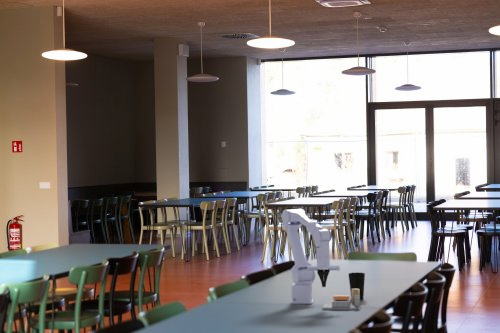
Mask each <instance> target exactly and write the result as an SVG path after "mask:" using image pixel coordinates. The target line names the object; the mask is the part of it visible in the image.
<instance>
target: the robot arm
mask: <svg viewBox="0 0 500 333" xmlns="http://www.w3.org/2000/svg"><path fill="white" fill-rule="evenodd" d="M281 221H282V225H283V228H284V229H285V231H286V235H287V239H288V243H289V247H290V250H291V253H292V258H293V261H294V265H293V266H292V268H291V269H290V270H291V278H292V281H293V283H292V284H291V304H293V305H295V304H296V305H299V304H304V305H305V304H311V305H312V304H313V303H314V301H315V300H314V299H313V286H312V285H313V283H314V281H315V279H316V272H317V275H318V277H319V280H320V282H321V286H322V287H321V288H326V286H327V280H328V277H329V274H330V271H337V272H339V271H341V265H331V263H330V261H331V260H330V242H331V240H332V235H333V234H332V232H331V230H330V229H329V228H324V227H323V226H322V225H320V224H319V223H318V221H316V220H311V219H310V218H309V217H308V216H307V214H306V211H305V210H304V209H303V208H294V209H293V208H292V209H284V210H283V211H282V213H281ZM302 225H303V226H305V227H306V231H307V232H308V233H309V235H311V236H312V238H313V242H314V246H315V247H316V248H315V249H316V265H312V264H311V263H309V262H308V261H307V260H306V255H305V253H304V249H303V246H302V242H301V239H300V234H299V229H300V228H301V226H302ZM315 271H316V272H315Z"/></svg>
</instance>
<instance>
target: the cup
mask: <svg viewBox="0 0 500 333" xmlns="http://www.w3.org/2000/svg"><path fill="white" fill-rule="evenodd" d="M365 276H366V273H364V272H349V273H348V282H349V290H350V291H349V292H350V297H351V298H350V300H352V289H360V301H363V300H364V298H365V296H364V294H365Z"/></svg>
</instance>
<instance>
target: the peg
mask: <svg viewBox="0 0 500 333" xmlns="http://www.w3.org/2000/svg"><path fill="white" fill-rule="evenodd" d="M355 296H360V289H352V299H351V304H355Z"/></svg>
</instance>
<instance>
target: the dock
mask: <svg viewBox="0 0 500 333" xmlns="http://www.w3.org/2000/svg"><path fill="white" fill-rule="evenodd" d="M360 309H361V300H360V296H355V304H352V302H351V298H349V300H333V299H332V300H331V303H324V304H323V306H322V311H323V310H324V311H359V310H360Z"/></svg>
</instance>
